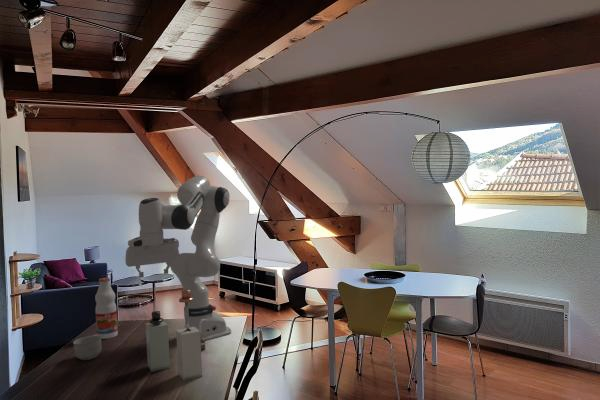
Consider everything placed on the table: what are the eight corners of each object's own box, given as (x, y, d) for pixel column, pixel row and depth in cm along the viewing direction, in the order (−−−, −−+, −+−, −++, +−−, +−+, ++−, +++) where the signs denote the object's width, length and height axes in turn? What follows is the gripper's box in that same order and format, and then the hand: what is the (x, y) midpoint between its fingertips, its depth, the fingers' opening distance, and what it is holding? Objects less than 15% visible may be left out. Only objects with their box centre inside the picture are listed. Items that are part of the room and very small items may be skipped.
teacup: (91, 362, 201) (90, 343, 200) (68, 362, 203) (67, 342, 203) (111, 351, 214) (110, 332, 214) (89, 350, 216) (88, 332, 216)
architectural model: (206, 351, 210) (205, 334, 209) (190, 355, 206) (189, 337, 206) (204, 349, 213) (203, 332, 212) (188, 352, 209) (187, 335, 209)
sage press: (165, 362, 197) (163, 320, 197) (169, 367, 191) (167, 324, 191) (147, 366, 194) (145, 323, 193) (151, 371, 188) (149, 327, 187)
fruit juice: (117, 332, 242) (114, 275, 241) (118, 337, 234) (115, 279, 233) (97, 335, 239) (93, 278, 238) (96, 340, 230) (93, 281, 229)
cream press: (196, 370, 187) (194, 326, 186) (202, 376, 181) (199, 331, 180) (178, 374, 184) (176, 329, 183) (183, 381, 178) (181, 334, 177)
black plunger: (163, 354, 196) (161, 309, 195) (166, 358, 191) (164, 312, 191) (150, 357, 194) (147, 311, 193) (152, 361, 189) (150, 314, 188)
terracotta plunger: (193, 336, 185) (190, 288, 185) (197, 339, 181) (194, 290, 180) (179, 338, 183) (177, 290, 182) (183, 342, 178) (180, 292, 178)
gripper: (176, 236, 198) (178, 270, 199) (123, 241, 189) (125, 277, 189) (180, 238, 193) (182, 272, 193) (126, 243, 183) (128, 280, 184)
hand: (153, 275), depth 191 cm, fingers open, 8 cm apart
